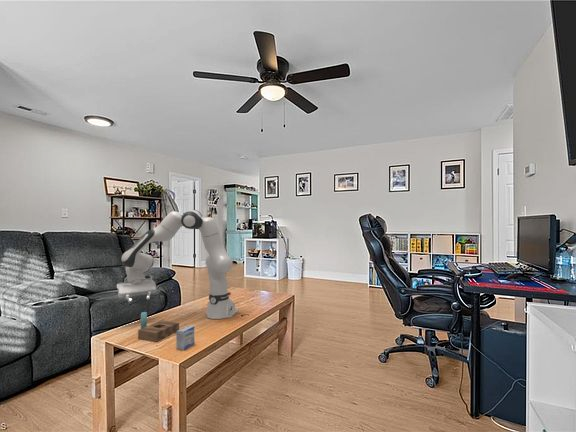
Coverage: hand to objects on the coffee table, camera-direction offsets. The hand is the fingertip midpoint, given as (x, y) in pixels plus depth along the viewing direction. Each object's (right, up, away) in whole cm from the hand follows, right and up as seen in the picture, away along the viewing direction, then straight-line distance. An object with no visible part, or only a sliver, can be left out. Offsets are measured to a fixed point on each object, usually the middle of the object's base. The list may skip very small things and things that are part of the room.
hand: (139, 300), depth 167 cm
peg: (+7, -14, -9) cm, 18 cm away
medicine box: (+37, -14, -28) cm, 49 cm away
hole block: (+18, -14, -14) cm, 27 cm away
